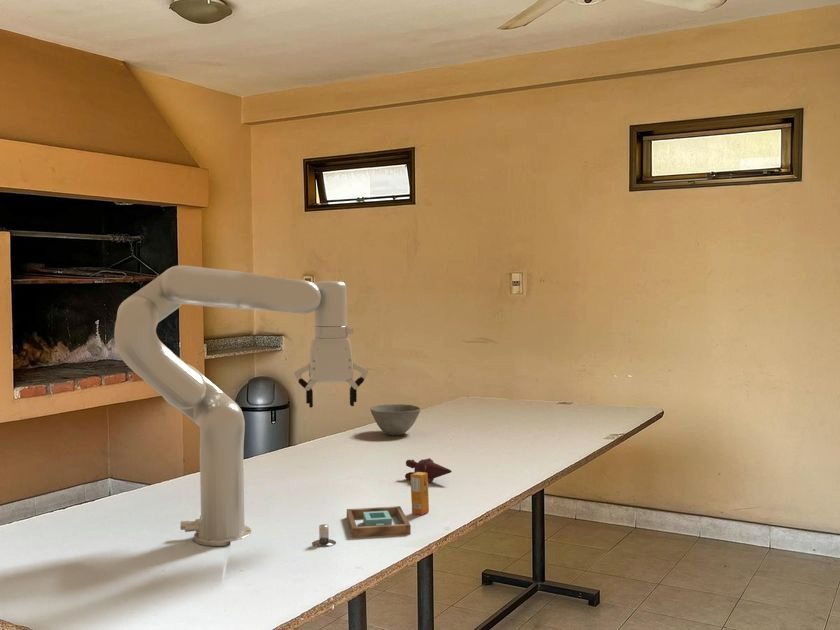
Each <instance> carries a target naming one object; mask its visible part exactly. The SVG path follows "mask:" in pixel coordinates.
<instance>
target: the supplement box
mask: <svg viewBox="0 0 840 630" xmlns="http://www.w3.org/2000/svg"><path fill="white" fill-rule="evenodd" d="M410 476H411V480H410V494H411V495H410V497H411V498H410V499H411V514H413V515H418V516H419V515H420V516H423V515H425V514H427V513H430V512H429V511H430V505H429V500H430V499H429V482H428V473H424V472H416V473H414V474H411V475H410Z"/></svg>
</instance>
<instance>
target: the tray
mask: <svg viewBox="0 0 840 630" xmlns="http://www.w3.org/2000/svg"><path fill="white" fill-rule="evenodd" d="M373 511H388V512H389V514H390V516H391V517H396V518H397V519H398V521H399V523H400V524H392V525H381V526H365V525H363V526H357V524H356V521H355V519H363V512H373ZM346 520H347V523H348V526H349V530H350V533H351V537H352V538H353V539H355V538H367V537H369V538H370V537H384V536H400V535H411V534H412V533H411V532H412V531H411V528H412V527H411V524H410V521H409V520H408V518H407V516H406V514H405V513H404V510H403V509H402V507H401V505H400V506H399V505H398V506H396V505H395V506H382V507H380V506H379V507H378V506H377V507H362V508H346Z"/></svg>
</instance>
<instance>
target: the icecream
mask: <svg viewBox="0 0 840 630" xmlns="http://www.w3.org/2000/svg"><path fill="white" fill-rule="evenodd" d="M405 465H406V466H407V468H410V469H414V470H413V471H412V472H411V471H410V472H406V474H405V475H404V478H405V479H406V480H409V481H411V476H410V475H411V474H414V473H416V472H424V473H428V484H429V483H430V484H431V482H433V481H434V480H435V479H436V478H439V477H443V476H445V475H448V474H451V473H452V472H453V471H452V470H451V469H450V468H448V467H445V466H443V465H440V464H438V463H436V462H434V460H433V459H432V458H430V457H429V458H425V459H424V458H423V459H421V460H419V461H415V459H407V460H406V461H405Z"/></svg>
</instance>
